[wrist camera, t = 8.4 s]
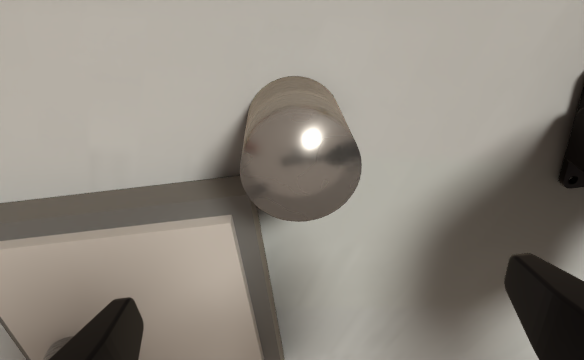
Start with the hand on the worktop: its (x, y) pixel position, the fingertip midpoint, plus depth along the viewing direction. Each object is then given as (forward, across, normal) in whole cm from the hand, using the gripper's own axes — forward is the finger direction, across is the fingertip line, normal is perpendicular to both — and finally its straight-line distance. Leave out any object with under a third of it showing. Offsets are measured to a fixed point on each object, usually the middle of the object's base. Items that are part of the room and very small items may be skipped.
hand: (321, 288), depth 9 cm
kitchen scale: (+11, +10, +10) cm, 18 cm away
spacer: (+11, 0, 0) cm, 11 cm away
